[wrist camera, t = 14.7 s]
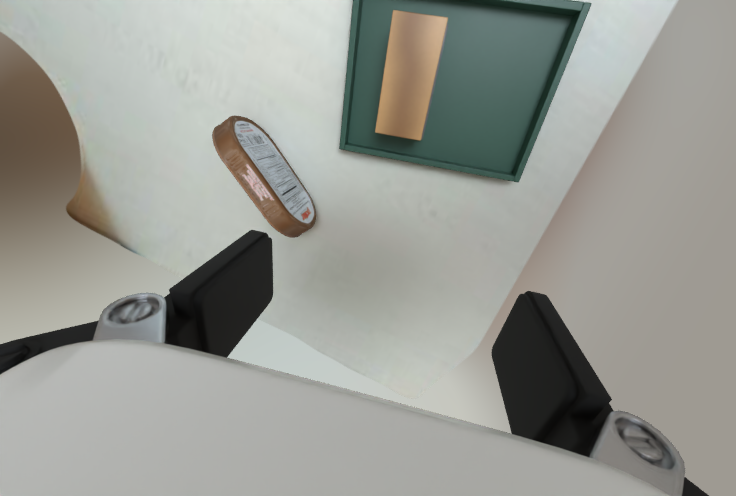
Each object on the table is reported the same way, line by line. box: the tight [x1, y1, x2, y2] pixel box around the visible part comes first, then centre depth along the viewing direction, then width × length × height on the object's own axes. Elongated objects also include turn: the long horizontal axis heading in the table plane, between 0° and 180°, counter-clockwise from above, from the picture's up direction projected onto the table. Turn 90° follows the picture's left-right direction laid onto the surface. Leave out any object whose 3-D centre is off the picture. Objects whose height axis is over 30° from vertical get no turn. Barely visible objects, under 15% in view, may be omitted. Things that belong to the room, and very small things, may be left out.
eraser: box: [375, 10, 448, 141], centre depth 27 cm, size 5×10×5 cm, turn 172°
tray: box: [339, 0, 591, 182], centre depth 29 cm, size 20×15×2 cm
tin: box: [212, 116, 316, 238], centre depth 33 cm, size 15×3×8 cm, turn 32°
